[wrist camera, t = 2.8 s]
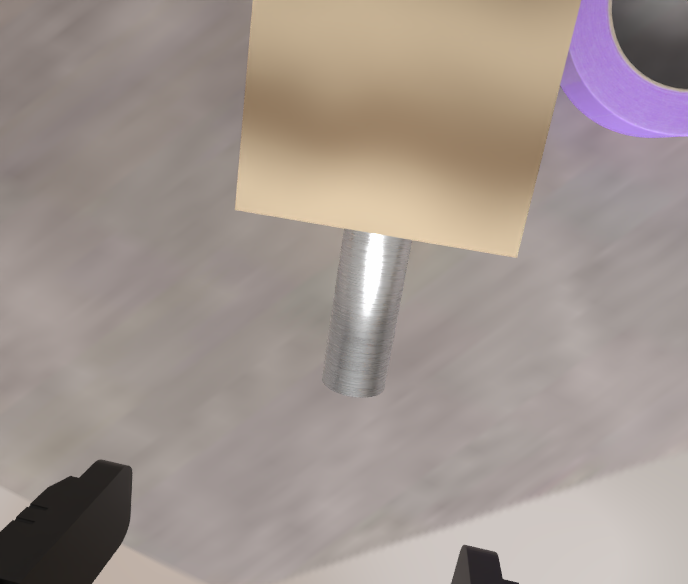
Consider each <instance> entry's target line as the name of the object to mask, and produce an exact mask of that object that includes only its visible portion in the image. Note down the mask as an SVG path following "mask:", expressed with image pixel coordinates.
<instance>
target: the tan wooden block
mask: <svg viewBox="0 0 688 584" xmlns="http://www.w3.org/2000/svg"><path fill="white" fill-rule="evenodd" d="M580 3H581V0H253V4H252V16H251V28H250V40H249V51H248V63H247V75H246V87H245V98H244V110H243V122H242V134H241V145H240V157H239V169H238V181H237V192H236V204H235V210H239V211H245V212H251V213H256V214H262V215H268V216H274V217H280V218H286V219H292V220H298V221H304V222H309V223H315V224H321V225H327V226H333V227H339V228H345V229H351V230H356V231H362V232H368V233H374V234H380V235H386V236H392V237H398V238H403V239H409V240H415V241H421V242H427V243H433V244H439V245H445V246H450V247H456V248H462V249H468V250H474V251H480V252H486V253H492V254H497V255H503V256H509V257H515V258H517V255H518V251H519V247H520V243H521V239H522V235H523V231H524V227H525V223H526V219H527V215H528V211H529V207H530V203H531V199H532V195H533V191H534V187H535V183H536V179H537V175H538V171H539V167H540V163H541V159H542V155H543V151H544V147H545V143H546V139H547V135H548V131H549V127H550V123H551V119H552V115H553V111H554V107H555V103H556V99H557V95H558V91H559V87H560V83H561V79H562V75H563V71H564V67H565V63H566V59H567V55H568V51H569V47H570V43H571V39H572V35H573V31H574V27H575V23H576V19H577V15H578V11H579V7H580Z"/></svg>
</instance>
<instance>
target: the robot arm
mask: <svg viewBox="0 0 688 584" xmlns="http://www.w3.org/2000/svg"><path fill="white" fill-rule="evenodd" d="M131 493H132V469H131V467H130V466H127V465H123V464H118V463H114V462H110V461H105V460H98V461H96V462H95V463H94V464H93V465H92V466H91V467H90V468H89V469H88V470H87V471H86V472H85V473H84V474H83V475H81V476H80V477H79V478H77V477H72V476H69V477H67V478H66V479H64V480H62V481H60V482H58V483H56V484H54V485H52V486H50V487H48V488H47V489H46V490H45V491H44V492H42V493H41V494H40V495H39V496H38V497H37V498H36V499H35V500H34V501H33V502H32V503H31V504H30V506H29V507H26V508H25V509H24V510H23V511H22V512H21V513H20V514H19V515H18V516H17V517H16V519H15V521H14V520H13V521H11V522H10V523H9V524H8V525H7V526H6V527H5V528H4V529H3V530H2V531H1V532H0V584H92V583H93V582H94V580H95V579H96V577H97V576H98V575H99V573H100V572H101V571H102V569H103V568H104V567H105V565H106V564H107V562H108V561H109V560H110V559H111V557H112V556H113V554H114V553H115V552H116V550H117V549H118V548H119V546H120V545H121V543H122V541H123V539H124V537H125V535H126V533H127V530H128V527H129V523H130V514H131ZM451 584H519V583H517V582H513V581H508V580H504V579H503V578H502V573H501V568H500V562H499V558H498V555H497V553H496V552H493V551H489V550H484V549H480V548H476V547H472V546H467V545H463V546H462V548H461V551H460V554H459V558H458V562H457V565H456V569H455V572H454V576H453V579H452V583H451Z"/></svg>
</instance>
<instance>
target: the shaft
mask: <svg viewBox="0 0 688 584" xmlns="http://www.w3.org/2000/svg"><path fill="white" fill-rule="evenodd" d="M411 243H412V240H409V239H403V238H398V237H392V236H386V235H380V234H374V233H368V232H362V231H356V230H351V229H345V228H344V232H343V239H342V246H341V253H340V259H339V266H338V273H337V280H336V286H335V293H334V300H333V307H332V313H331V320H330V327H329V334H328V340H327V347H326V354H325V361H324V367H323V374H322V381H323V383H324V384H325V385H326V386H327V387H328V388H329V389H331V390H333V391H335V392H337V393H340V394H342V395H346V396H351V397H360V398H364V397H372V396H376V395H378V394H380V393H381V392H382V391H383V390H384V387H385V381H386V376H387V371H388V365H389V360H390V355H391V349H392V344H393V339H394V333H395V328H396V323H397V317H398V312H399V307H400V302H401V296H402V291H403V286H404V280H405V275H406V270H407V264H408V259H409V254H410V248H411Z"/></svg>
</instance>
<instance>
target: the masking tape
mask: <svg viewBox="0 0 688 584" xmlns="http://www.w3.org/2000/svg"><path fill="white" fill-rule="evenodd" d="M560 86H561V88H562V89H563V91H564V92H565V94H566V95H567V96H568V98H569V99H570V100H571V102H572V103H573V104H574V105H575V106H576V107H577V108H578V109H579V110H580V111H581V112H582V113H583V114H585V115H586V116H587V117H588V118H590V119H591V120H593V121H594V122H596V123H597V124H599V125H601V126H603V127H605V128H607V129H610V130H613V131H615V132H618V133H622V134H626V135H630V136H636V137H647V138H655V137H678V136H688V89H682V88H674V87H670V86H666V85H663V84H661V83H658V82H656V81H654V80H652V79H650V78H648V77H647V76H645V75H644V74H643V73H641V72H640V71H639V70H638V69H637V68H636V67H635V66H634V65H633V64H632V63H631V62H630V61H629V60H628V58H627V57H626V56H625V54H624V53H623V51H622V49H621V47H620V45H619V42H618V40H617V37H616V34H615V30H614V26H613V20H612V0H581V3H580V7H579V11H578V15H577V19H576V23H575V27H574V31H573V35H572V39H571V43H570V47H569V51H568V55H567V59H566V63H565V67H564V71H563V75H562V79H561V83H560Z"/></svg>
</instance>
